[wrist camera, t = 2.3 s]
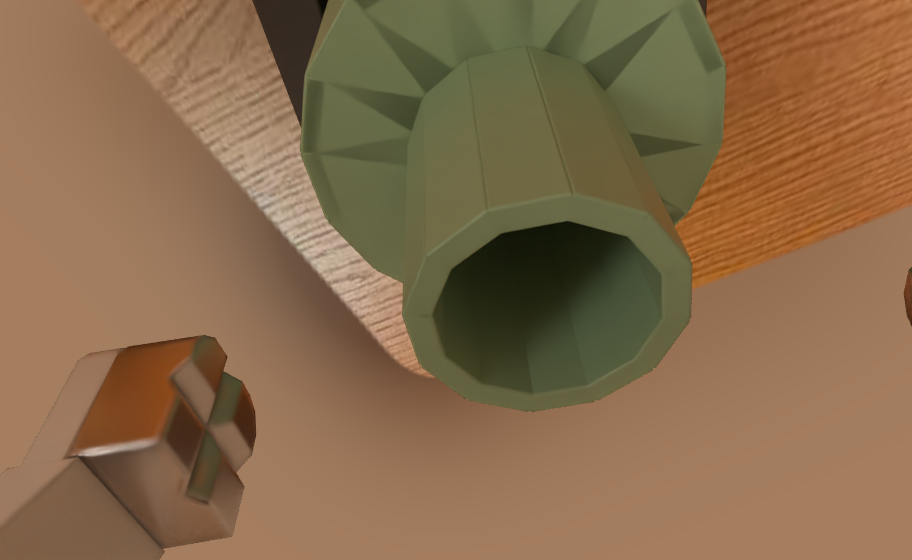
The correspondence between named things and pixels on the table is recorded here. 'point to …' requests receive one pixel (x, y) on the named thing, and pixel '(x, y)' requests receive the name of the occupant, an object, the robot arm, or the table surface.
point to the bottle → (520, 179)
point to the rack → (298, 39)
